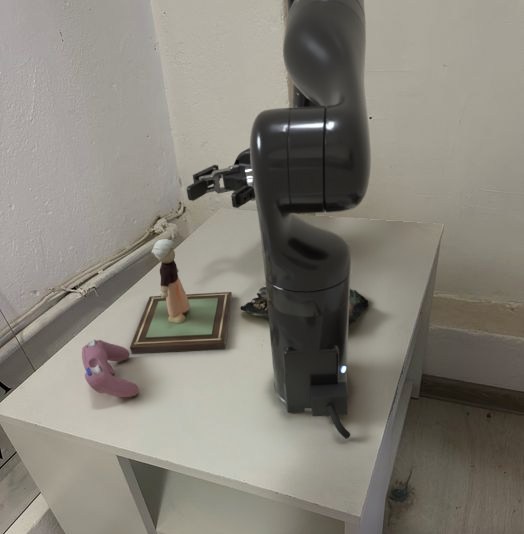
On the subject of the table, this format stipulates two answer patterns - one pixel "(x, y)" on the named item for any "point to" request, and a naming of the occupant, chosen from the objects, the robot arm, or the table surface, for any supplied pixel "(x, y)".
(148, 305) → the board
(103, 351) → the video game controller
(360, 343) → the table surface
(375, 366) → the table surface
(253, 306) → the decorative rock
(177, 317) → the grandmother figurine
